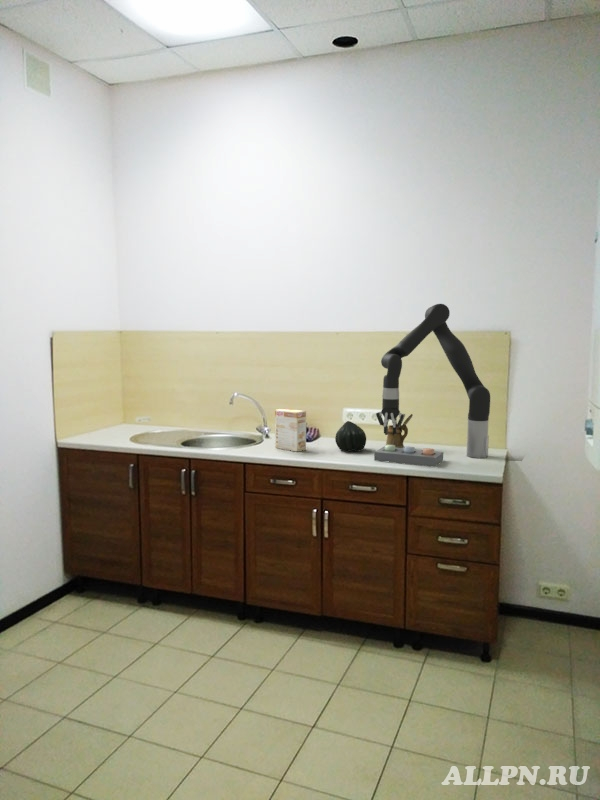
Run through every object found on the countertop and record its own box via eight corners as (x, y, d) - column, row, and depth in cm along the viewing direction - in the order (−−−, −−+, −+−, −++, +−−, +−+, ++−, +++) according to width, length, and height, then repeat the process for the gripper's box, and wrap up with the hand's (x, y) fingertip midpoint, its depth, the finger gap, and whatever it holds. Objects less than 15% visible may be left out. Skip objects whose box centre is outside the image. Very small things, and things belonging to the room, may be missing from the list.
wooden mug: (409, 451, 298) (409, 415, 296) (382, 449, 304) (383, 413, 302) (414, 448, 306) (415, 412, 303) (388, 445, 312) (389, 410, 310)
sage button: (396, 452, 284) (396, 445, 283) (393, 454, 280) (393, 447, 279) (386, 451, 286) (386, 444, 286) (383, 453, 282) (383, 446, 281)
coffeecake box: (306, 449, 302) (306, 410, 300) (296, 452, 297) (296, 412, 295) (284, 445, 312) (284, 407, 310) (274, 448, 307) (274, 409, 305)
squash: (364, 443, 290) (365, 417, 298) (333, 444, 292) (334, 417, 301) (366, 458, 301) (367, 432, 310) (336, 458, 304) (337, 432, 312)
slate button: (415, 453, 280) (415, 447, 279) (412, 456, 276) (412, 449, 275) (405, 452, 282) (405, 446, 282) (402, 454, 278) (402, 448, 277)
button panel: (443, 460, 279) (443, 451, 279) (435, 466, 267) (435, 457, 266) (384, 454, 292) (384, 446, 291) (374, 460, 279) (374, 451, 279)
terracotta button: (435, 455, 276) (435, 448, 275) (432, 457, 272) (432, 450, 271) (424, 454, 278) (424, 447, 278) (421, 456, 274) (421, 449, 273)
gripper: (408, 397, 280) (407, 434, 282) (378, 395, 286) (378, 432, 288) (403, 399, 273) (402, 437, 275) (373, 397, 279) (372, 435, 281)
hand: (390, 434), depth 282 cm, fingers open, 3 cm apart
